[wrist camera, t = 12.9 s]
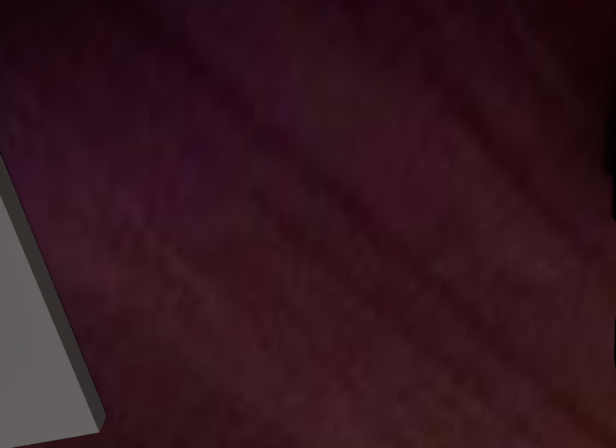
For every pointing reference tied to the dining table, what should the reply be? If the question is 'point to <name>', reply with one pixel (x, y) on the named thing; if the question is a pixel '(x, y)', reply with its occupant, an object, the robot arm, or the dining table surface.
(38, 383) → the lid
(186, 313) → the dining table surface
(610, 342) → the dining table surface
